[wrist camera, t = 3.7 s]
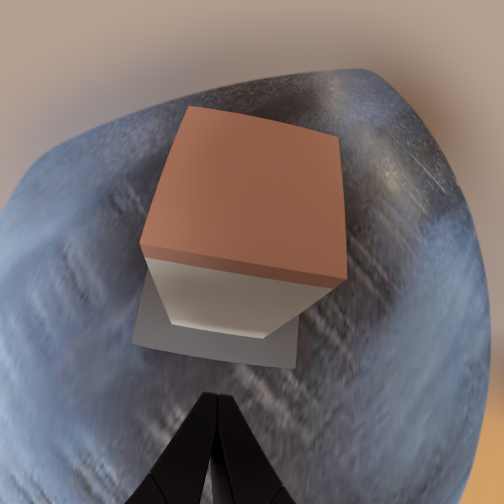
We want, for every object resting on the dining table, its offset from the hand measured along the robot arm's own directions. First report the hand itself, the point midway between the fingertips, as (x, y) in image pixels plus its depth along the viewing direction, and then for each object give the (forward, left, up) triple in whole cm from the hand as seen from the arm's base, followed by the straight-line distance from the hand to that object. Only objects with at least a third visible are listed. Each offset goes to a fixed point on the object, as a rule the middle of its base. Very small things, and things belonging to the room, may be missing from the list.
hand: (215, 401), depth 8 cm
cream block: (+1, -6, -7) cm, 9 cm away
